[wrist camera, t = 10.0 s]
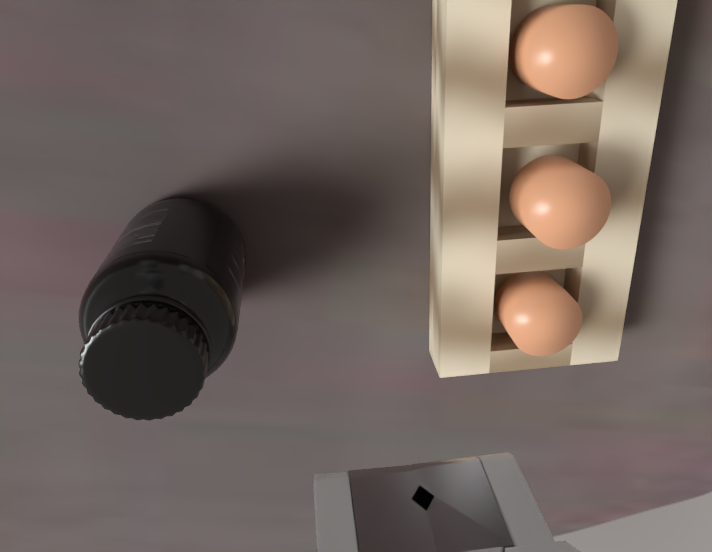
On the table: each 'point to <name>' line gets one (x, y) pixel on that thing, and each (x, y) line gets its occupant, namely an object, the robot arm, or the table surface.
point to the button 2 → (564, 49)
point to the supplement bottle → (162, 309)
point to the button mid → (560, 201)
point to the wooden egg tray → (510, 154)
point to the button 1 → (538, 313)
